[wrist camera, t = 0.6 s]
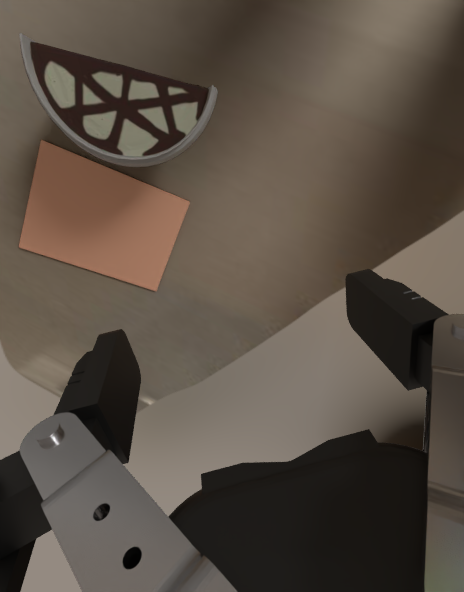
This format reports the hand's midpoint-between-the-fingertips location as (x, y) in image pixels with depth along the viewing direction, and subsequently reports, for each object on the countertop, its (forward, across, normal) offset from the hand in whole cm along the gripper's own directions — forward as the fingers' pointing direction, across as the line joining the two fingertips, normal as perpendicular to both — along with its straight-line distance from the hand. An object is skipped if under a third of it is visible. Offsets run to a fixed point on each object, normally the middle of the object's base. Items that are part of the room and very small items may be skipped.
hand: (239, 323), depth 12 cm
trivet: (+25, +10, 0) cm, 26 cm away
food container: (+25, +4, -8) cm, 27 cm away
